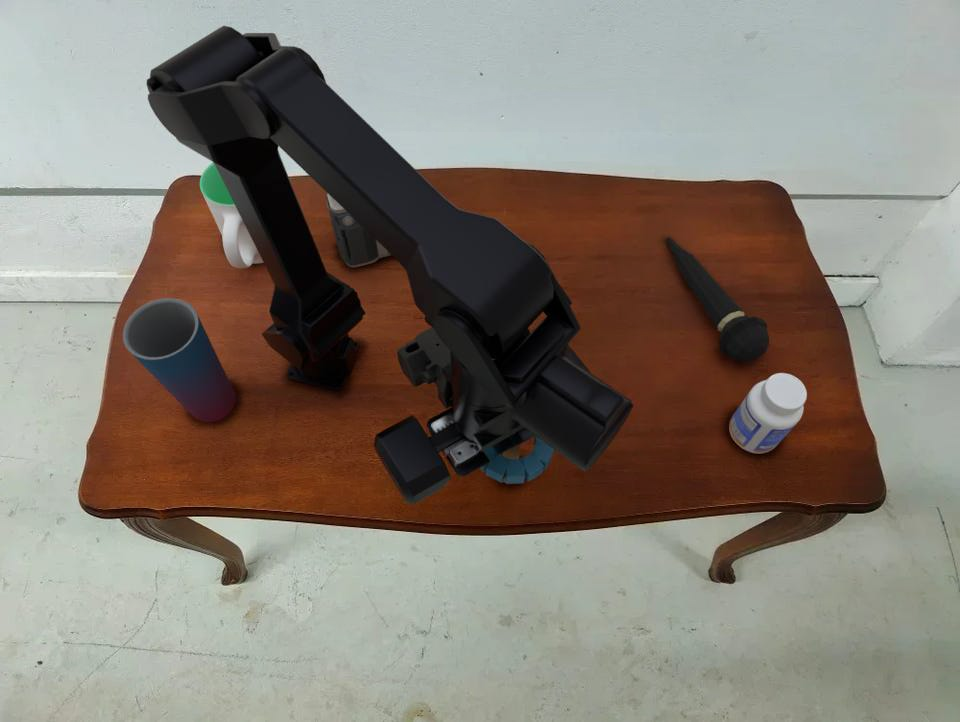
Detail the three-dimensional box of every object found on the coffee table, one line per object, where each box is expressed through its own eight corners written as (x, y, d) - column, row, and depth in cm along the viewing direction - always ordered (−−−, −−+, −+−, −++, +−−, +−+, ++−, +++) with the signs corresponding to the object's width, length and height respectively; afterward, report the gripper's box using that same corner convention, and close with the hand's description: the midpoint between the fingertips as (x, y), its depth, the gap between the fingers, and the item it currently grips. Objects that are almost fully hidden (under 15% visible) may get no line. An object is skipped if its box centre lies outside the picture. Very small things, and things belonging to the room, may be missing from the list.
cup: (231, 434, 76) (181, 365, 63) (171, 424, 76) (109, 353, 64) (252, 380, 79) (209, 303, 66) (195, 370, 80) (141, 292, 67)
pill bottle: (783, 421, 77) (821, 378, 69) (771, 462, 75) (809, 423, 67) (734, 402, 79) (765, 357, 70) (721, 443, 76) (752, 401, 68)
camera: (343, 272, 87) (329, 217, 78) (335, 238, 90) (320, 180, 81) (433, 252, 89) (429, 196, 80) (422, 219, 92) (417, 161, 83)
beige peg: (493, 480, 74) (496, 441, 65) (499, 457, 75) (503, 416, 66) (518, 486, 73) (524, 447, 65) (523, 463, 75) (530, 423, 66)
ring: (473, 485, 66) (473, 478, 64) (470, 410, 70) (470, 401, 68) (556, 482, 66) (558, 475, 64) (549, 408, 70) (550, 399, 68)
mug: (284, 288, 86) (262, 232, 77) (217, 290, 86) (188, 233, 77) (294, 213, 92) (275, 153, 83) (232, 215, 92) (205, 154, 83)
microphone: (651, 263, 92) (735, 379, 81) (645, 235, 87) (733, 354, 76) (689, 243, 92) (779, 357, 80) (686, 214, 87) (780, 331, 75)
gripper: (532, 250, 59) (521, 348, 72) (328, 351, 54) (357, 436, 67) (614, 348, 54) (585, 433, 67) (399, 469, 49) (415, 535, 62)
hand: (486, 455), depth 66 cm, fingers closed on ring, 2 cm apart
